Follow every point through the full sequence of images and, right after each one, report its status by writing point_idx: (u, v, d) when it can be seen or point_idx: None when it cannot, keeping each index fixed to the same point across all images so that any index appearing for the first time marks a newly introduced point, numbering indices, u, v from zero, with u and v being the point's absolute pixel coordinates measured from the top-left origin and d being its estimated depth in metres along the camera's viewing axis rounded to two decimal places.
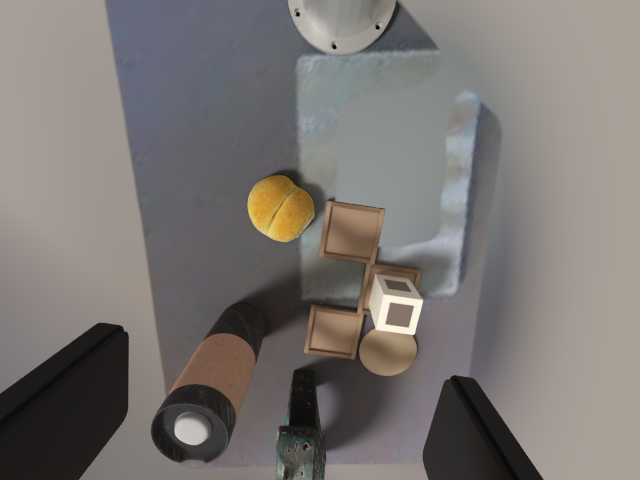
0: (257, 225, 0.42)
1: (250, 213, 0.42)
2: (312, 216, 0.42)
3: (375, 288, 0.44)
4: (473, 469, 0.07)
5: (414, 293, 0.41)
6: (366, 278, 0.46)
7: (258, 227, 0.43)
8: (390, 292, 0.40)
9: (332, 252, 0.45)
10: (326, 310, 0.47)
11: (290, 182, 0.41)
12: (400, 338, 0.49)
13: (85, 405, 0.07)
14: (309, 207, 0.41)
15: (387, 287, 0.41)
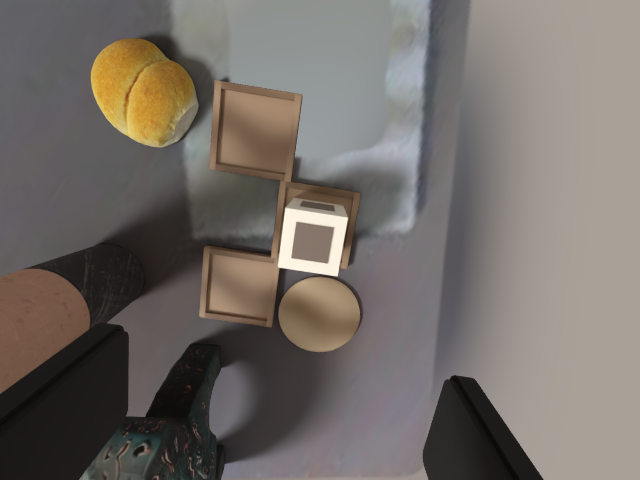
0: (108, 115, 0.28)
1: (95, 96, 0.28)
2: (190, 102, 0.28)
3: None
4: (473, 469, 0.07)
5: (339, 213, 0.26)
6: (280, 204, 0.31)
7: (111, 120, 0.28)
8: (298, 208, 0.26)
9: (229, 164, 0.31)
10: (226, 253, 0.33)
11: (154, 48, 0.27)
12: (335, 296, 0.34)
13: (85, 405, 0.07)
14: (182, 85, 0.27)
15: (299, 205, 0.27)
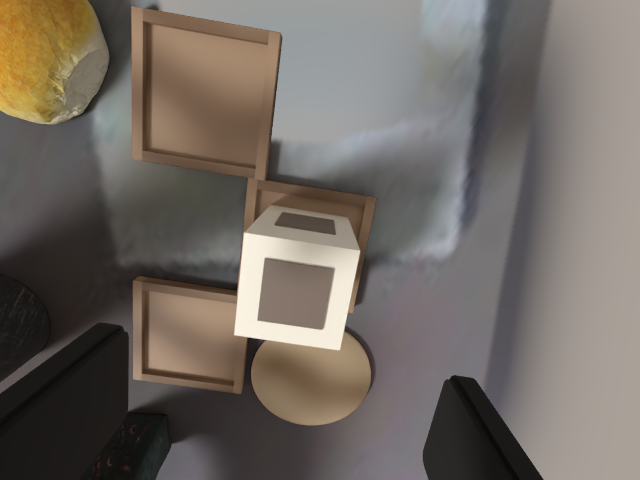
0: None
1: None
2: (87, 45, 0.16)
3: None
4: (473, 469, 0.07)
5: (343, 238, 0.15)
6: (249, 215, 0.20)
7: None
8: (270, 231, 0.14)
9: (166, 151, 0.19)
10: (168, 289, 0.21)
11: None
12: (335, 351, 0.23)
13: (85, 405, 0.07)
14: (68, 12, 0.15)
15: (274, 222, 0.16)
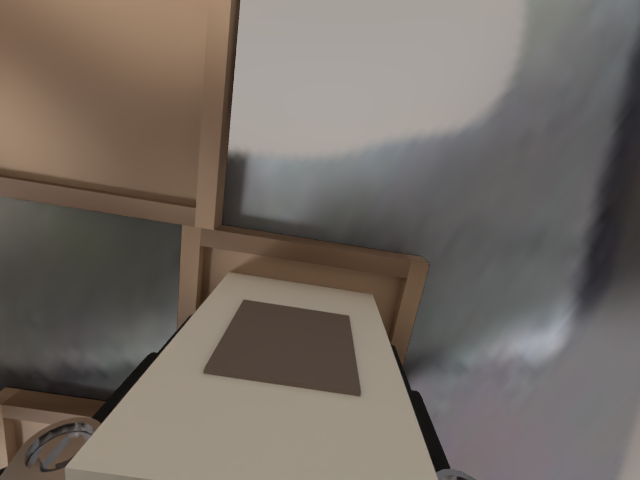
0: None
1: None
2: None
3: None
4: None
5: (382, 413, 0.06)
6: (188, 292, 0.11)
7: None
8: (173, 423, 0.05)
9: (26, 174, 0.10)
10: (49, 416, 0.12)
11: None
12: None
13: None
14: None
15: (205, 360, 0.06)
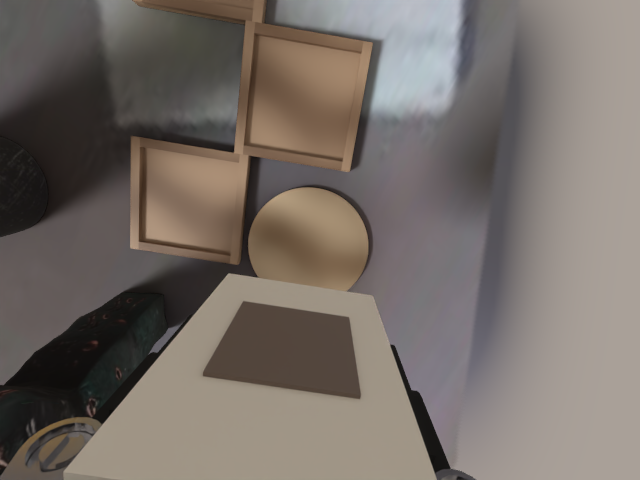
0: None
1: None
2: None
3: None
4: None
5: (381, 416, 0.06)
6: (247, 61, 0.20)
7: None
8: (172, 427, 0.05)
9: None
10: (166, 145, 0.21)
11: None
12: (332, 218, 0.23)
13: None
14: None
15: (205, 362, 0.06)
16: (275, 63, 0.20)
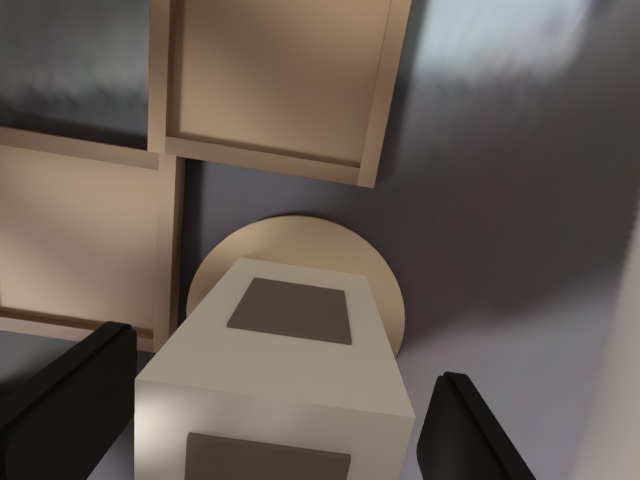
0: None
1: None
2: None
3: None
4: (464, 463, 0.07)
5: (367, 356, 0.07)
6: None
7: None
8: (208, 357, 0.06)
9: None
10: (13, 137, 0.11)
11: None
12: None
13: (96, 402, 0.07)
14: None
15: (227, 318, 0.08)
16: None
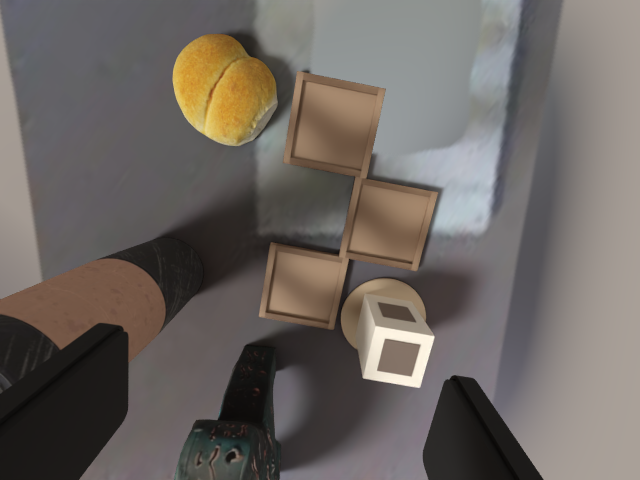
0: (187, 112, 0.27)
1: (176, 91, 0.27)
2: (273, 100, 0.27)
3: (364, 314, 0.31)
4: (473, 469, 0.07)
5: (421, 325, 0.28)
6: (354, 201, 0.30)
7: (189, 117, 0.28)
8: (385, 323, 0.27)
9: (304, 158, 0.30)
10: (293, 250, 0.31)
11: (238, 44, 0.27)
12: (402, 299, 0.33)
13: (85, 405, 0.07)
14: (267, 83, 0.27)
15: (381, 314, 0.28)
16: (371, 201, 0.31)
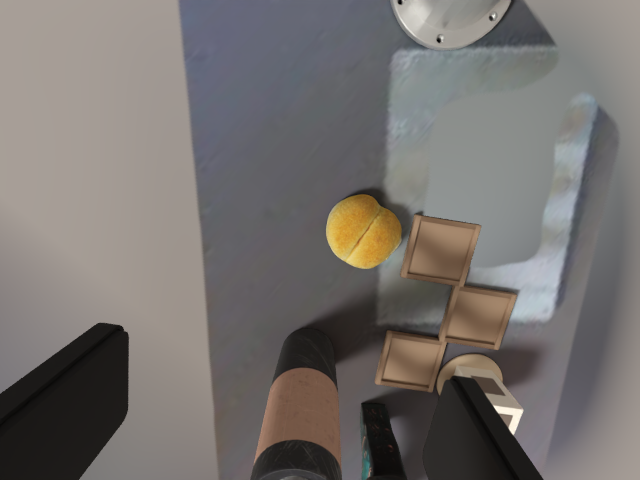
0: (338, 251, 0.37)
1: (330, 237, 0.37)
2: (400, 240, 0.37)
3: None
4: (473, 469, 0.07)
5: (509, 398, 0.38)
6: (453, 302, 0.40)
7: (338, 253, 0.38)
8: None
9: (416, 272, 0.40)
10: (404, 337, 0.42)
11: (376, 202, 0.37)
12: None
13: (85, 405, 0.07)
14: (398, 230, 0.36)
15: None
16: (465, 301, 0.41)
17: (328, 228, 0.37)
